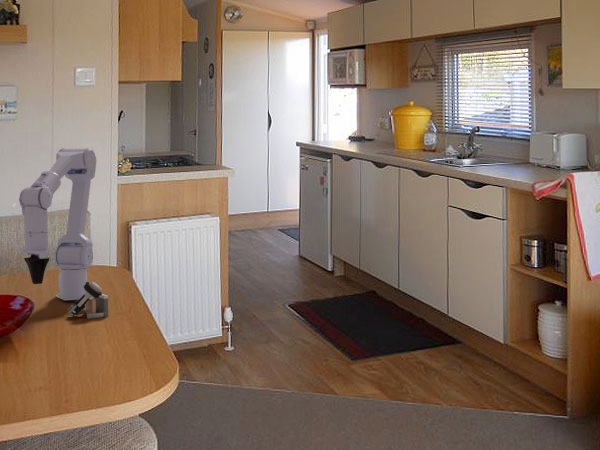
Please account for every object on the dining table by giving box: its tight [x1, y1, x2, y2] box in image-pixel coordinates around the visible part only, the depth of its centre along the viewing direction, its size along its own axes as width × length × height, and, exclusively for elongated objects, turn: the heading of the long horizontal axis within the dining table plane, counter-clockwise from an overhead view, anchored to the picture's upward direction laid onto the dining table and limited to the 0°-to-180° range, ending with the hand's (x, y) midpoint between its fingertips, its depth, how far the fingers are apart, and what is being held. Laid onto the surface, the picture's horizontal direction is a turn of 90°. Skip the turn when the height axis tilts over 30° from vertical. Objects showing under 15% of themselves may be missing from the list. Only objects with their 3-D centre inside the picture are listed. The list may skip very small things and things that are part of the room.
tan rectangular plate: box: [85, 297, 97, 315], centre depth 193 cm, size 6×1×4 cm, turn 35°
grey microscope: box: [68, 280, 103, 318], centre depth 191 cm, size 7×5×10 cm
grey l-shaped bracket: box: [79, 293, 109, 320], centre depth 194 cm, size 9×6×6 cm, turn 35°
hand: (37, 283), depth 189 cm, fingers closed
